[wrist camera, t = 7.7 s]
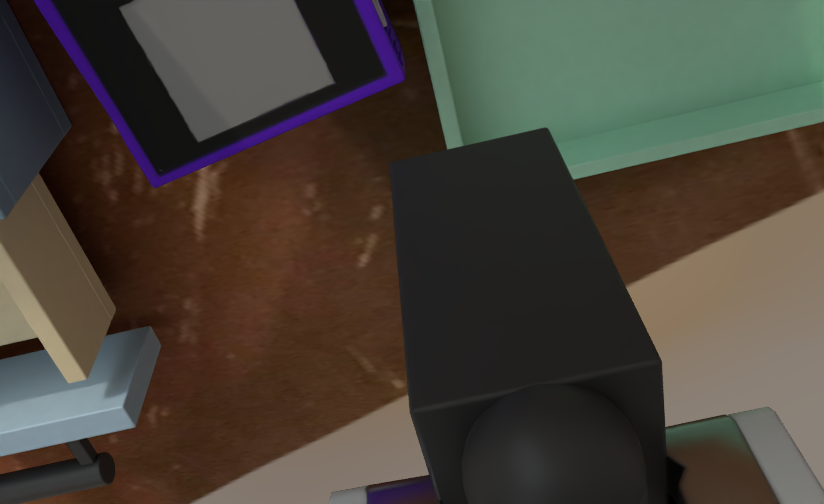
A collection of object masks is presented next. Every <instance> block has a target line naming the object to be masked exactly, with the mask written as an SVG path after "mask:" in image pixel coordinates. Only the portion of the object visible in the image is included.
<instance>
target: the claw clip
mask: <svg viewBox="0 0 824 504" xmlns="http://www.w3.org/2000/svg"><path fill="white" fill-rule="evenodd" d="M389 167H390V179H391V191H392V203H393V215H394V227H395V239H396V251H397V263H398V275H399V287H400V300H401V312H402V324H403V336H404V348H405V360H406V372H407V384H408V396H409V408H410V414H411V418H412V421H413V424H414V427H415V430H416V434H417V437H418V440H419V443H420V446H421V449H422V453H423V456H424V459H425V462H426V466H427V468H428V472H429V475H430V478H431V481H432V485H433V488H434V491H435V494H436V497H437V499H438V500H442V502H443V504H669V493H668V491H667V477H666V452H667V451H666V432H665V413H664V394H663V375H662V361H661V359H660V357H659V354H658V352H657V350H656V348H655V346H654V344H653V342H652V340H651V338H650V336H649V334H648V332H647V330H646V328H645V326H644V324H643V322H642V320H641V318H640V315H639V313H638V311H637V309H636V307H635V305H634V303H633V301H632V299H631V297H630V295H629V293H628V291H627V289H626V287H625V285H624V283H623V281H622V279H621V276H620V274H619V272H618V270H617V268H616V266H615V264H614V262H613V260H612V258H611V256H610V254H609V252H608V250H607V248H606V246H605V244H604V242H603V240H602V237H601V235H600V233H599V231H598V229H597V227H596V225H595V223H594V221H593V219H592V217H591V215H590V213H589V211H588V209H587V207H586V205H585V203H584V201H583V198H582V196H581V194H580V192H579V190H578V188H577V186H576V184H575V182H574V180H573V178H572V176H571V174H570V172H569V170H568V168H567V166H566V164H565V162H564V159H563V157H562V155H561V153H560V151H559V149H558V147H557V145H556V143H555V141H554V139H553V137H552V135H551V133H550V131H549V129H548V128H545V127H544V128H540V129H536V130H531V131H527V132H522V133H518V134H514V135H509V136H505V137H500V138H496V139H492V140H487V141H483V142H478V143H474V144H470V145H465V146H461V147H456V148H452V149H448V150H443V151H439V152H434V153H430V154H425V155H421V156H417V157H412V158H408V159H403V160H399V161H395V162H392V163H390V166H389Z"/></svg>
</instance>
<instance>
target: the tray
mask: <svg viewBox="0 0 824 504" xmlns="http://www.w3.org/2000/svg"><path fill="white" fill-rule="evenodd" d="M413 3H414V8H415V12H416V16H417V21H418V25H419V29H420V34H421V38H422V42H423V47H424V51H425V55H426V60H427V64H428V68H429V73H430V77H431V81H432V86H433V90H434V94H435V99H436V103H437V107H438V112H439V116H440V120H441V125H442V129H443V133H444V138H445V142H446V146H447V150H448V149H452V148H456V147H461V146H465V145H470V144H474V143H478V142H483V141H487V140H492V139H496V138H500V137H505V136H509V135H514V134H518V133H522V132H527V131H531V130H536V129H540V128H544V127H545V128H548V129H549V131H550V133H551V135H552V137H553V139H554V141H555V143H556V145H557V147H558V149H559V151H560V153H561V155H562V157H563V159H564V162H565V164H566V166H567V168H568V170H569V172H570V174H571V176H572V178H573V180H574V179H578V178H582V177H587V176H591V175H595V174H600V173H604V172H608V171H613V170H617V169H621V168H626V167H630V166H634V165H639V164H643V163H647V162H652V161H656V160H660V159H665V158H669V157H673V156H678V155H682V154H686V153H691V152H695V151H699V150H704V149H708V148H712V147H717V146H721V145H725V144H729V143H734V142H738V141H742V140H747V139H751V138H755V137H760V136H764V135H768V134H773V133H777V132H781V131H786V130H790V129H794V128H799V127H803V126H807V125H812V124H816V123H820V122H824V0H413Z"/></svg>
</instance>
